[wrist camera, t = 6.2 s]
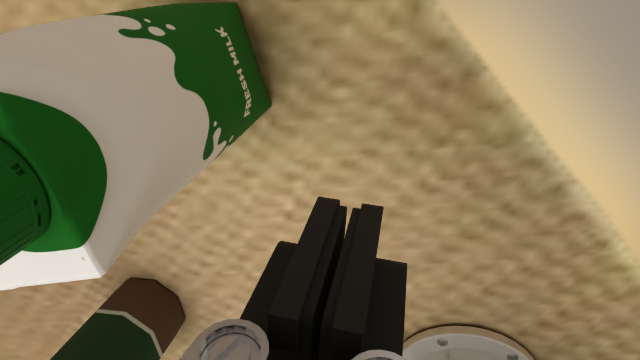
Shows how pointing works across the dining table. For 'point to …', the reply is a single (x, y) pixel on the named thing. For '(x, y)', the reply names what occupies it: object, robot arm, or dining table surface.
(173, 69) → the soya milk
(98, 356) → the beer bottle
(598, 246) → the dining table surface
